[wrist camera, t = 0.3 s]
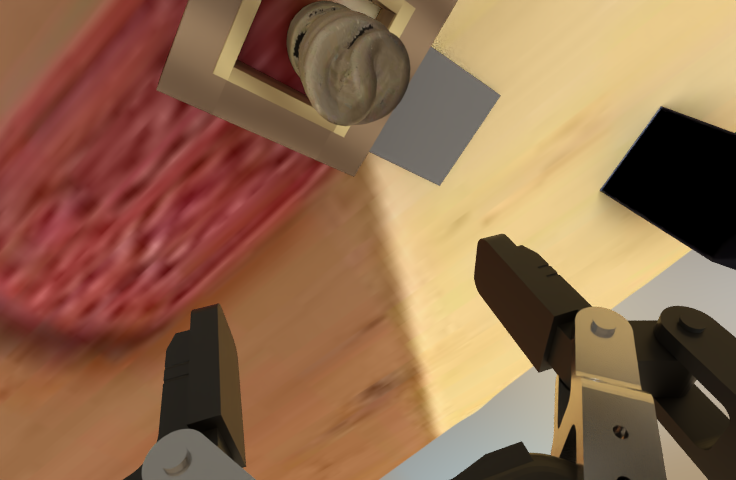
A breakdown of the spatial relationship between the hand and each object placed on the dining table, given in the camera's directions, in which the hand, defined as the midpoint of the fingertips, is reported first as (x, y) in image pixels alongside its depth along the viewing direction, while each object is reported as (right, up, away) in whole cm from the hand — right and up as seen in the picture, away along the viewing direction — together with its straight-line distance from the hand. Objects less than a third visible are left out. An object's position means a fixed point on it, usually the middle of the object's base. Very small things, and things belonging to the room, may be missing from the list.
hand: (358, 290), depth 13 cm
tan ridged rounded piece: (-4, +17, +20) cm, 26 cm away
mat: (+6, +13, +26) cm, 30 cm away
